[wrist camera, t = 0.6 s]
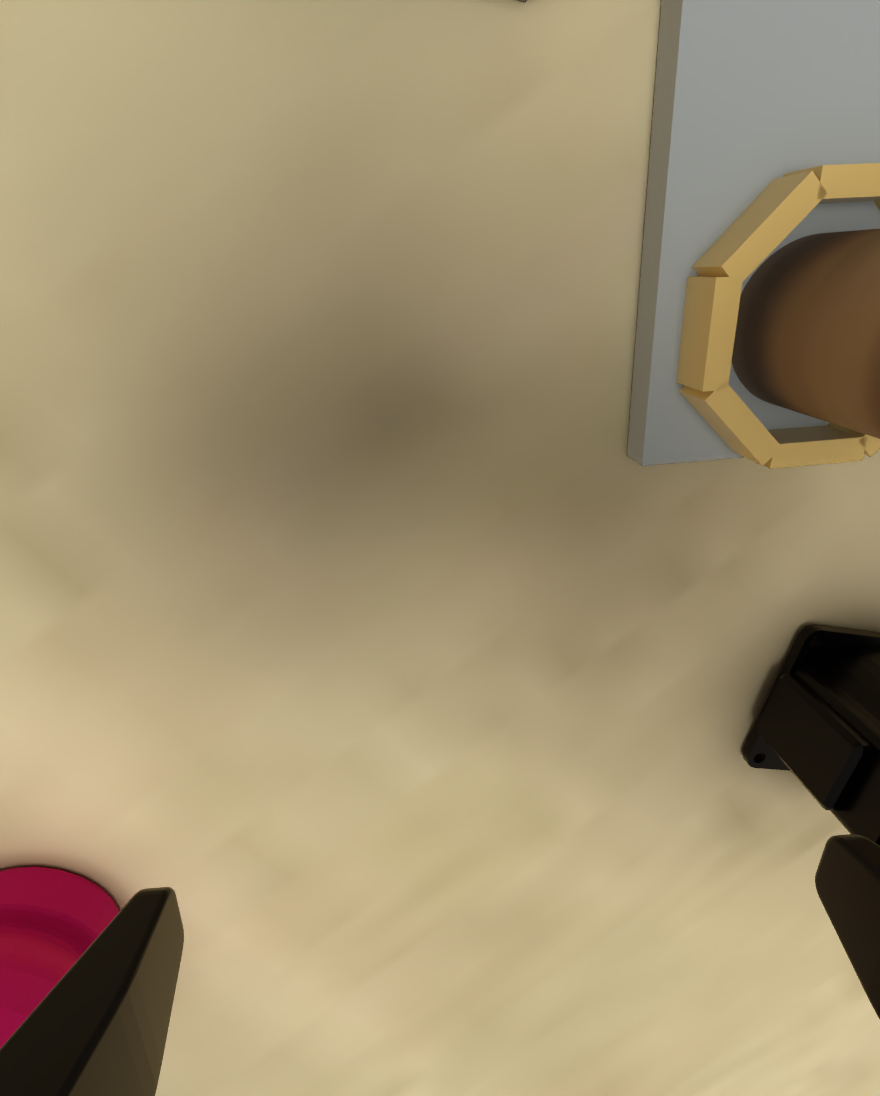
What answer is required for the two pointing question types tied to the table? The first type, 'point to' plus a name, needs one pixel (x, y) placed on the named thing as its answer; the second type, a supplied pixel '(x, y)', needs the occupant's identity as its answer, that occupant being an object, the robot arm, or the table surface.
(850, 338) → the cylinder
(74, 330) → the table surface
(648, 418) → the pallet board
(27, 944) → the pink bowling pin
